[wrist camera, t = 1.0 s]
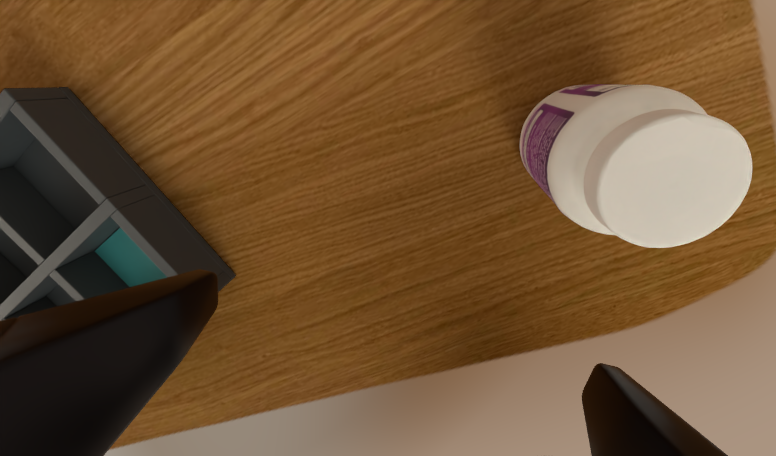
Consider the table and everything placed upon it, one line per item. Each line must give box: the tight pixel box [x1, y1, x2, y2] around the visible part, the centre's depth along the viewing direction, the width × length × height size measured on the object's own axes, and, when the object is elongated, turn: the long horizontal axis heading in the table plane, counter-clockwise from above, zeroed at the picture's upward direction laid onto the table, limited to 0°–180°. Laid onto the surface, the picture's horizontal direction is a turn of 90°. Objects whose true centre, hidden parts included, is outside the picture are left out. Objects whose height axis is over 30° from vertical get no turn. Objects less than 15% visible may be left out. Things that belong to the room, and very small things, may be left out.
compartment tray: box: [0, 87, 236, 321], centre depth 26 cm, size 15×15×4 cm
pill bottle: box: [520, 84, 752, 248], centre depth 15 cm, size 5×5×10 cm
